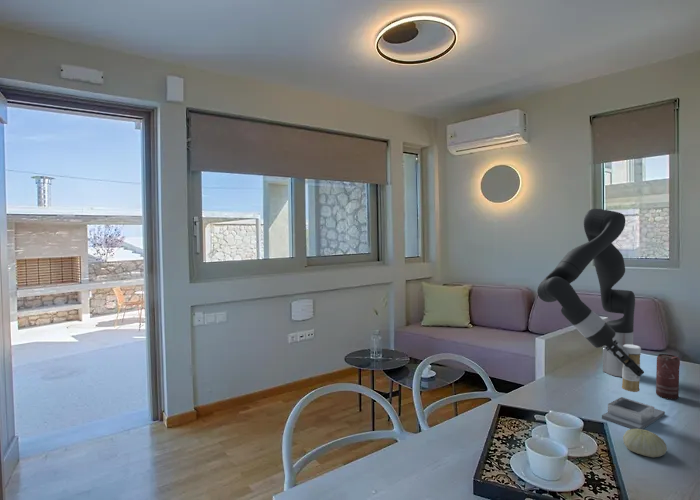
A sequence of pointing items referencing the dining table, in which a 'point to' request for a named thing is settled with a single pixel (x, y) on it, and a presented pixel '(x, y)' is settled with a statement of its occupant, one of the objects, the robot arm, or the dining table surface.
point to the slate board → (633, 425)
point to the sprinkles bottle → (628, 375)
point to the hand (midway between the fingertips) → (638, 371)
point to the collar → (631, 410)
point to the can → (667, 376)
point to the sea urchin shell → (644, 443)
